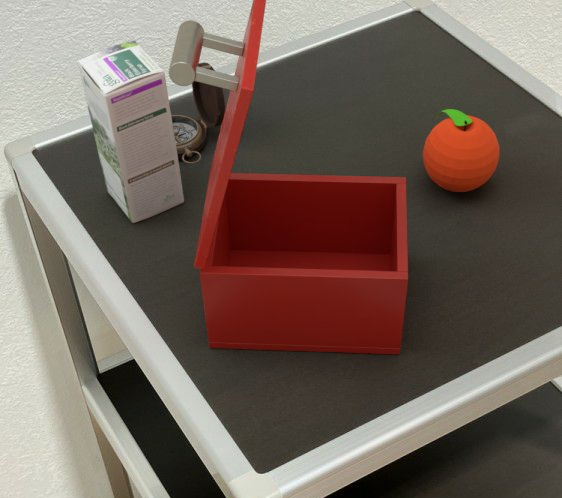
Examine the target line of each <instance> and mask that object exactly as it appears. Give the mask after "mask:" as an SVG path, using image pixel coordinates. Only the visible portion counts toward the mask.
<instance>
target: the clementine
mask: <svg viewBox="0 0 562 498" xmlns="http://www.w3.org/2000/svg"><path fill="white" fill-rule="evenodd" d="M442 113H445V114H446V115H447V116H448V117H446V118H445V119H443V120H442V121H440V122H439V123H438V124H436V125H435V126H433V128H432V130H431V131H430V132H429V134H428V136H427V137H426V138H425V142H424V146H423V149H422V161H423V166H424V169H425V171H426V173H427V175H428V176H429V178H430V179H431V180H432V182H434V183H435V184H436V185H437V186H438V187H440V188H441V189H444V190H446V191H450V192H453V193H466V192H471V191H473V190H476V189H477V188H479V187H481V186H483V185H484V184H485V183H486V182H488V181H489V180H490V178H491V177H492V176H493V174H494V173H495V172H496V170H497V166H498V163H499V161H500V145H499V141H498V139H497V135H496V133H495V132H494V129H492V128H491V127H490V125H489V124H488V123H486V121H484V120H482V119H480V118H478V117H475V116H473V115H467V114H465V113H464V112H463V111H461V110H458V109H453V108H445V109H443V110H441V111H439V112H438V114H437V117H436V119H439V116H440V115H441V114H442Z"/></svg>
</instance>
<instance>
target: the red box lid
mask: <svg viewBox="0 0 562 498" xmlns="http://www.w3.org/2000/svg"><path fill="white" fill-rule="evenodd" d="M266 6H267V0H252V4H251V7H250V8H251V9H250V12H249V16H248V19H247V24H246V28H245V32H244V35H243V39H242V41H240V40H239V41H238V40H235V39H231V38H228V37H224V36H220V35H216V34H212V33H208V32H205V29H204V27H203V25H201V24H200V23H199V22H198V21H195V20H192V19H191V20H185V21H183V22H181V23H180V25H179V26H178V30H177V34H176V37H175V43H174V47H173V51H172V55H171V60H170V63H169V68H168V77H169V78H170V80H171V82H173V83H174V84H175V85H177V86H180V87H188V86H190V85H192V83H193V82H194V81H197V82H201V83H205V84H209V85H213V86H217V87H220V88H222V89H223V90H224V89H225V90H228V91H229V94H228V99H227V103H226V105H225V114H224V118H223V122H222V124H221V125H220V129H219V130H220V131H219V134H218V138H217V142H216V146H215V150H214V154H213V157H212V161H211V166H210V170H209V176H208V182H207V187H206V193H205V199H204V206H203V210H202V211H203V212H202V217H201V223H200V229H199V235H198V240H197V246H196V251H195V257H194V264H193V268H196V269H199V270H200V269H204V268H205V265H206V261H207V257H208V254H209V250H210V247H211V243H212V239H213V236H214V232H215V228H216V225H217V221H218V218H219V214H220V210H221V207H222V203H223V200H224V196H225V192H226V189H227V185H228V181H229V178H230V174H231V173H232V170H233V166H234V163H235V159H236V156H237V151H238V148H239V146H240V141H241V138H242V134H243V130H244V127H245V123H246V120H247V116H248V112H249V109H250V105H251V102H252V98H253V95H254V90H255V82H256V76H257V67H258V63H259V54H260V48H261V39H262V34H263V33H262V32H263V27H264V19H265V11H266ZM203 48H208V49H211V50H215V51H219V52H222V53H226V54H231V55H234V56H238V59H237V63H236V66H235V67H236V68H235V71H234V74H228V73H225V72H221V71H216V70H215V71H213V70H209V69H206V68H202V67H198V65H199V63H200V60H201V55H202V50H203Z"/></svg>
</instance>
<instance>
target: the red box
mask: <svg viewBox="0 0 562 498" xmlns="http://www.w3.org/2000/svg"><path fill="white" fill-rule="evenodd" d="M407 201H408V200H407V177H406V176H374V175H373V176H372V175H371V176H369V175H330V174H329V175H327V174H326V175H323V174H288V173H287V174H285V173H284V174H283V173H282V174H281V173H279V174H278V173H241V172H240V173H239V172H231V174H230V178H229V181H228V185H227V189H226V192H225V196H224V200H223V203H222V207H221V210H220V214H219V218H218V221H217V225H216V228H215V232H214V236H213V239H212V243H211V247H210V250H209V254H208V257H207V261H206V265H205V268H204V269H200V268H199V279H200V284H201V285H200V286H201V293H202V295H201V296H202V302H203V310H204V317H205V326H206V332H207V340H208V347H209V349H224V350H225V349H228V350H251V351H252V350H254V351H255V350H257V351H286V352H287V351H288V352H313V353H338V354H339V353H341V354H343V353H344V354H368V353H370V355H371V354H373V355H397V354H399V355H400V354H401V347H402V338H403V329H404V322H405V321H404V320H405V310H406V304H407V303H406V301H407V293H408V286H409V285H408V284H409V260H408V258H409V257H408V256H409V253H408V251H409V249H408V210H407V209H408V208H407V205H408V204H407Z"/></svg>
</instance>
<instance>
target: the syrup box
mask: <svg viewBox="0 0 562 498" xmlns="http://www.w3.org/2000/svg"><path fill="white" fill-rule="evenodd" d="M77 66H78V70H79V74H80V79H81V85H82V88H83V92H84V96H85V97H84V98H85V101H86V105H87V109H88V110H87V111H88V115H89V118H90V123H91V127H92V131H93V136H94V141H95V144H96V145H95V146H96V150H97V153H98V158H99V163H100V165H101V170H102V174H103V179H104V183H105V187H106V192H107V193H108V195H109V196H110V197H111V198H112V200H113V201H114V202H115V204H116V205H117V206H118V207H119V208H120V210H121V211H122V212H123V213H124V215H125V216H126V218H127V219H128V220H129V221H130V223H132V224H136V223H138V222H141V221H144V220H147V219H150V218H152V217H154V216H157V215H158V214H161V213H163V212H165V211H167V210H170V209H172V208H175V207H177V206H179V205H181V204H183V203H185V196H184V191H183V184H182V183H183V182H182V176H181V169H180V163H179V159H178V155H177V149H176V143H175V136H174V130H173V123H172V117H171V116H172V112H171V105H170V98H169V93H168V86H167V80H166V73H165V71H164V69H162V68H161V67H160V65H159V64H158V63H157V62H156V61H155V60H154V59H153V58H152V57H151V56H150V55H149V54H148V53H147V51H146V50H144V49H143V48H142V46H141V45H140V44H139V43H138V42H137V41H136V40H130V41H126V42H122V43H119V44H115V45H112V46H109V47H107V48H104V49H102V50H99V51H97V52H95V53H92V54H90V55H88V56H86V57H84V58H81V59H78V60H77Z"/></svg>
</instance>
